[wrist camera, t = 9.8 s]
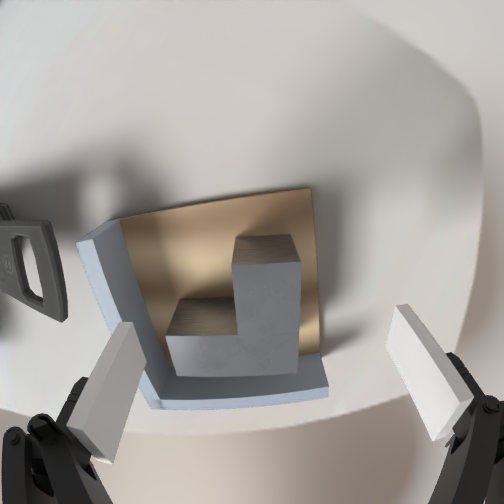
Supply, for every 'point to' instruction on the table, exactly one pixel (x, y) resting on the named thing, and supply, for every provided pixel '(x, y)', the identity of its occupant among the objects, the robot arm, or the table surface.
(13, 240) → the zipper pull
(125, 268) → the corner walls
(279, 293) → the angle bracket
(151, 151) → the table surface
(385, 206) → the table surface
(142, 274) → the cork mat
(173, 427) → the table surface
